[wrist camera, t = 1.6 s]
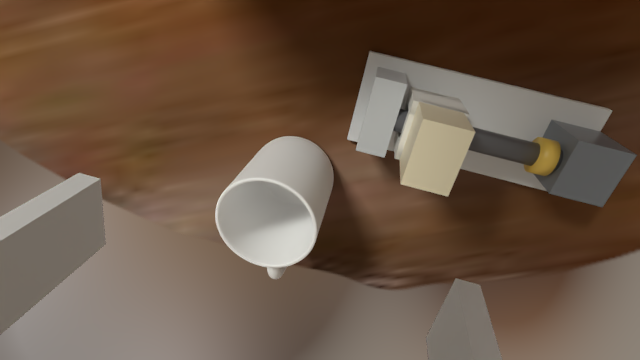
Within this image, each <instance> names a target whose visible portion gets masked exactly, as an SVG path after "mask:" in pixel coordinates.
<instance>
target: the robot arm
mask: <svg viewBox="0 0 640 360" xmlns="http://www.w3.org/2000/svg"><path fill="white" fill-rule="evenodd" d="M105 244H106V241H105V229H104V217H103V204H102V192H101V180H100V179H99V178H96V177H92V176H88V175H85V174H81V173H78V174H76V175H74V176H73V177H71V178H69V179H67V180H65V181H64V182H62V183H60V184H58V185H57V186H55V187H53V188H51V189H49V190H48V191H46V192H44V193H43V194H40V195H39V196H37V197H35V198H33V199H31V200H30V201H28V202H26V203H24V204H23V205H21V206H19V207H17V208H16V209H14V210H12V211H10V212H8V213H7V214H5V215H3V216H1V217H0V335H1V334H2V333H3V332H4V331H5V330H7V328H9V327H10V326H11V325H12V324H13V323H15V322H16V321H17V320H18V319H19V318H20V317H22V316H23V315H24V314H25V313H26V312H27V311H28V310H30V309H31V308H32V307H33V306H34V305H36V304H37V303H38V302H39V301H40V300H41V299H42V298H43V297H45V296H46V295H47V294H48V293H49V292H51V291H52V290H53V289H54V288H55V287H57V285H59V284H60V283H61V282H62V281H63V280H65V279H66V278H67V277H68V276H69V275H70V274H72V273H73V272H74V271H75V270H76V269H77V268H79V267H80V266H81V265H82V264H83V263H84V262H86V261H87V260H88V259H89V258H90V257H91V256H93V255H94V254H95V253H96V252H97V251H98V250H100V248H102V247H103V246H104V245H105ZM426 342H427V352H428V360H502V357H501V354H500V350H499V347H498V343H497V340H496V337H495V334H494V330H493V327H492V323H491V320H490V316H489V313H488V310H487V306H486V304H485V300H484V296H483V293H482V290H481V287H480V285H478V284H474V283H471V282H467V281H464V280H460V279H457V278H456V279H455V281H454V283H453V285H452V287H451V289H450V291H449V293H448V295H447V297H446V299H445V301H444V303H443V305H442V307H441V309H440V311H439V313H438V315H437V317H436V318H435V321H434V323H433V325H432V327H431V328H430V330H429V332H428V334H427V336H426Z"/></svg>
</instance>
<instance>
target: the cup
mask: <svg viewBox="0 0 640 360" xmlns="http://www.w3.org/2000/svg"><path fill="white" fill-rule="evenodd" d="M333 182H334V173H333V168H332V164H331V162H330V160H329V158H328V156H327V155H326V154H325V152H324V151H323V150H322V149H321V148H320V147H319V146H317V145H316V144H315V143H313V142H311V141H309V140H307V139H304V138H301V137H296V136H285V137H280V138H277V139H274V140H272V141H270V142H269V143H267V144H266V145H265V146H264V147H263V148H262V149H261V150H260V151H259V152H258V153H257V154H256V155H255V156H254V157H253V159H252V160H251V161H250V162H249V163H248V164H247V165H246V167H245V168H244V169H243V170H242V171H241V172H240V173H239V175H238V176H237V177H236V178H235V179H234V180H233V181H232V183H231V184H230V185H229V186H228V187H227V188H226V190H225V191H224V192H223V193H222V194H221V196H220V198H219V200H218V202H217V206H216V212H215V217H216V224H217V228H218V231H219V233H220V235H221V237H222V239H223V240H224V242H225V243H226V244H227V246H228V247H229V248H230V249H231V250H232V251H233V252H234V253H236V254H237V255H238V256H240V257H241V258H243V259H245V260H247V261H248V262H251V263H253V264H256V265H259V266H263V267H267V271H268V274H269V276H270V277H271V278H272V279H278V278H280V277H281V276H282V275H283V273H284V271H285V269H286V267H287V266H290V265H293V264H295V263H297V262H299V261H301V260H302V259H304V258H305V257H306V256H307V255H308V254H309V253H310V251H311V250H312V248H313V247H314V244H315V242H316V239H317V235H318V232H319V229H320V226H321V223H322V220H323V217H324V213H325V210H326V207H327V204H328V201H329V198H330V195H331V191H332V187H333Z"/></svg>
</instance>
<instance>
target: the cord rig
mask: <svg viewBox="0 0 640 360" xmlns="http://www.w3.org/2000/svg"><path fill="white" fill-rule="evenodd" d="M411 87H414V88H418V89H422V90H426V91H430V92H434V93H438V94H442V95H446V96H450V97H454V98H458V99H460V101H461V102H462V104H463V105H464V107H465V108H466V110H467V111H468V113H469V114H470V115H469V117H468V120H469V122H470V124H471V125H472V127H473V129H474V130H475V135H474V137H473V139H472V142H471V144H470V146H469V149H468V151H467V153H466V156H465V158H464V161H463V163H462V165H461V168H460V169H463V170H467V171H471V172H475V173H479V174H482V175H486V176H490V177H494V178H498V179H502V180H506V181H509V182H513V183H517V184H521V185H525V186H529V187H533V188H536V189H540V190H544V191H547V192H548V193H549V194H553V195H557V196H561V197H564V198H568V199H572V200H576V201H580V202H584V203H588V204H591V205H595V206H599V207H603V206H604V204H605V203H606V201H607V200H608V198H609V197H610V195H611V194H612V192H613V191H614V189H615V187H616V186H617V184H618V183H619V181H620V180H621V178H622V177H623V175H624V174H625V172H626V171H627V169H628V168H629V166H630V165H631V163H632V162H633V160H634V159H635V157H636V156H637V155H636V154H635V153H633V152H632V151H630V150H628V149H627V148H625V147H624V146H622V145H621V144H619V143H618V142H616V141H614V140H613V139H611V138H610V137H608V136H607V135H605V134H604V133H602V132H600V131H601V130H602V128H603V126H604V125H605V123H606V121H607V119H608V118H609V116H610V114H611V113H612V110H610V109H608V108H605V107H601V106H597V105H593V104H589V103H585V102H580V101H576V100H572V99H568V98H564V97H560V96H556V95H552V94H547V93H543V92H539V91H535V90H531V89H527V88H523V87H519V86H514V85H510V84H506V83H502V82H498V81H494V80H490V79H486V78H481V77H477V76H473V75H469V74H465V73H461V72H457V71H453V70H448V69H444V68H440V67H436V66H432V65H428V64H424V63H420V62H415V61H411V60H407V59H403V58H399V57H395V56H391V55H387V54H382V53H378V52H374V51H370V52H369V55H368V59H367V63H366V67H365V71H364V75H363V79H362V83H361V87H360V91H359V95H358V98H357V102H356V106H355V110H354V114H353V118H352V122H351V126H350V130H349V134H348V138H347V140H351V141H355V142H358V143H357V147H356V150H357V151H361V152H364V153H368V154H372V155H376V156H380V157H384V158H385V155H386V151H387V150H390V151H394V138H395V135H396V132H399V133H401V132H402V129H403V126H404V123H405V120H406V116H407V113H408V111H407V110H404V106H405V103H406V100H407V97H408V94H409V91H410V88H411Z"/></svg>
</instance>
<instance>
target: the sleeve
mask: <svg viewBox="0 0 640 360" xmlns="http://www.w3.org/2000/svg"><path fill="white" fill-rule="evenodd" d="M404 110H407V111H408V113H407V116H406V120H405V123H404V126H403V129H402V132H401V133H399V132H396V135H395V138H394V159H398V160H400V184H402V185H406V186H409V187H413V188H417V189H421V190H425V191H428V192H432V193H436V194H440V195H443V196H447V197H448V196H449V193H450V191H451V189H452V186H453V184H454V182H455V179H456V177H457V175H458V172H459V170H460V168H461V165H462V163H463V161H464V158H465V156H466V153H467V151H468V149H469V146H470V144H471V142H472V139H473V137H474V135H475V130H474V129H473V127H472V125H471V124H470V122H469V120H468V117H469V115H470V114H469V113H468V111H467V110H466V108H465V107H464V105H463V104H462V102H461V101H460V99H458V98H454V97H450V96H446V95H442V94H438V93H434V92H430V91H426V90H422V89H418V88H414V87H411V88H410V91H409V94H408V97H407V100H406V103H405V106H404Z"/></svg>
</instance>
